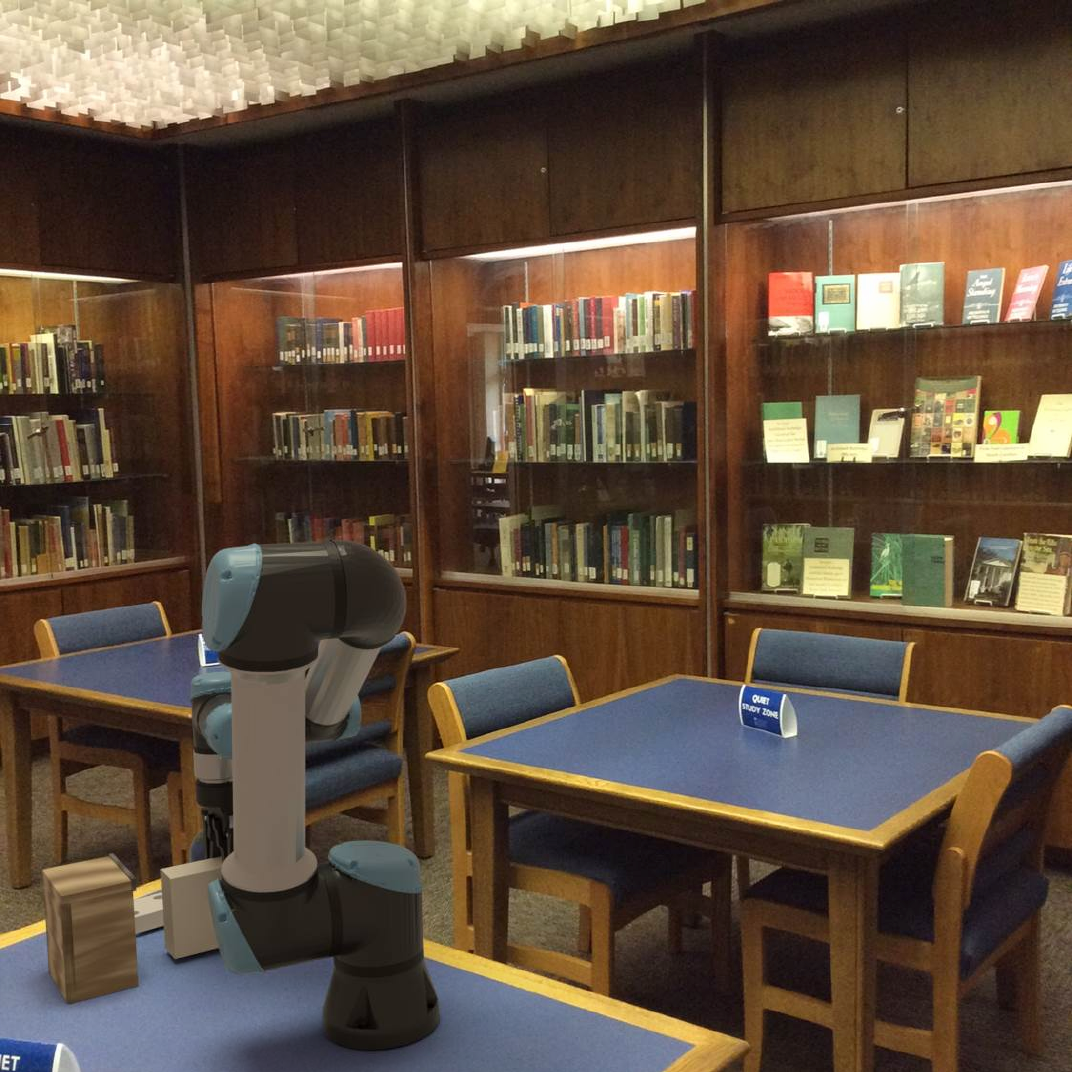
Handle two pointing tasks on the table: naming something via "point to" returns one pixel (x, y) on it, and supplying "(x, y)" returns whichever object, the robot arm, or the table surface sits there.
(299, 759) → the robot arm
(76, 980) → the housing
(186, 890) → the tan cardboard carton
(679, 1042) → the table surface
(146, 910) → the bracket
